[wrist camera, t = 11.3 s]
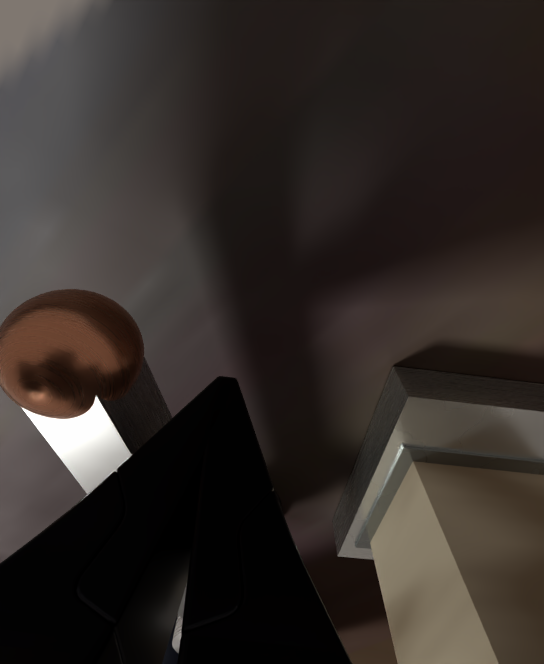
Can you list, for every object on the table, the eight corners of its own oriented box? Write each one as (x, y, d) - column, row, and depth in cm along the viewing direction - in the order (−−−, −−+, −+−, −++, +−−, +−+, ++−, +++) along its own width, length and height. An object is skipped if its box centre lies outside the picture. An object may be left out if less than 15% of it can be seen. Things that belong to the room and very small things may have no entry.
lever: (153, 257, 6) (94, 311, 4) (278, 587, 13) (278, 670, 11) (7, 284, 7) (-112, 348, 5) (202, 593, 14) (188, 674, 11)
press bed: (592, 389, 11) (636, 424, 10) (476, 534, 16) (495, 572, 14) (392, 366, 11) (409, 398, 9) (332, 521, 15) (337, 558, 14)
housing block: (556, 476, 11) (820, 792, 6) (488, 553, 14) (626, 824, 8) (413, 461, 11) (546, 777, 5) (370, 542, 13) (432, 814, 8)
